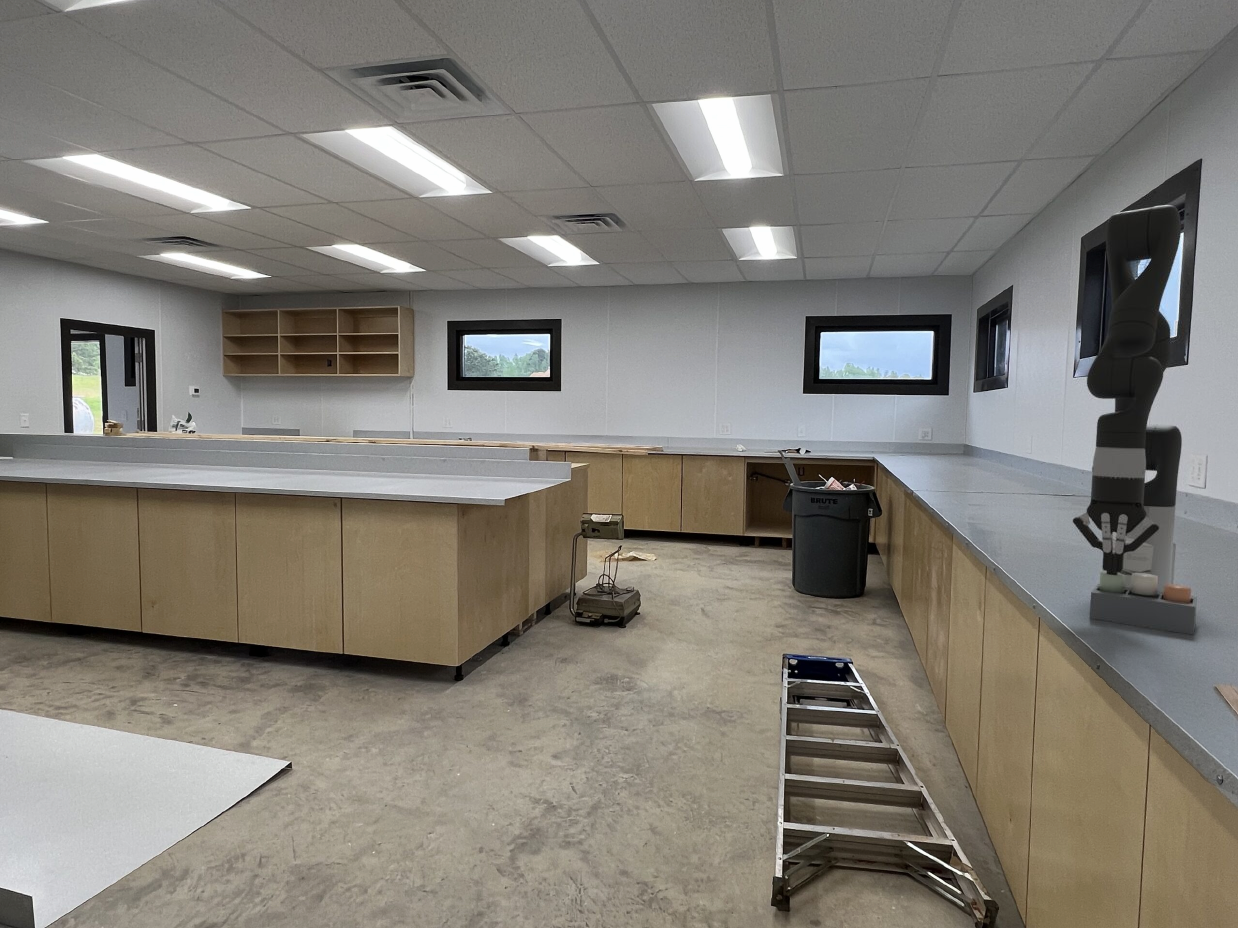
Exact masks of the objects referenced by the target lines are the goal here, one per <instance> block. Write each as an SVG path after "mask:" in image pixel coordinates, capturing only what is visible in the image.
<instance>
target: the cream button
mask: <svg viewBox="0 0 1238 928" xmlns="http://www.w3.org/2000/svg"><path fill="white" fill-rule="evenodd" d="M1157 582H1158V576H1156V575H1151V574H1145V573H1132V578H1131V592H1133V593H1137V594H1142V595H1157Z"/></svg>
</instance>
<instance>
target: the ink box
mask: <svg viewBox="0 0 1238 928" xmlns="http://www.w3.org/2000/svg"><path fill="white" fill-rule="evenodd" d="M1134 540H1135V539H1132V538H1126V543H1125V544H1130V543H1132V542H1133V541H1134ZM1115 543H1116V536H1113V552H1115ZM1152 556H1153V546H1152V545H1149V544H1146V543H1143V544H1142V545H1141V546H1140V547H1138V548H1137V549H1136V550H1135V551H1133V552H1126V553H1124V560H1123V569H1122V571H1121V572H1118V573H1120V574H1124V575H1125V587H1127V588H1131V578H1132V573H1145V574H1151V566H1152ZM1101 572H1107V571H1105V570H1103V567H1102V570H1101Z"/></svg>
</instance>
